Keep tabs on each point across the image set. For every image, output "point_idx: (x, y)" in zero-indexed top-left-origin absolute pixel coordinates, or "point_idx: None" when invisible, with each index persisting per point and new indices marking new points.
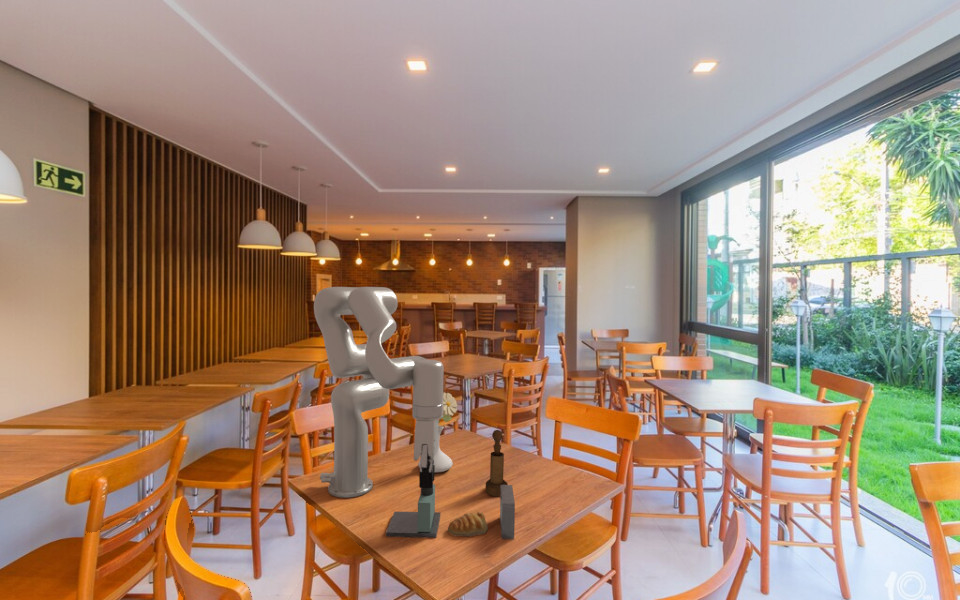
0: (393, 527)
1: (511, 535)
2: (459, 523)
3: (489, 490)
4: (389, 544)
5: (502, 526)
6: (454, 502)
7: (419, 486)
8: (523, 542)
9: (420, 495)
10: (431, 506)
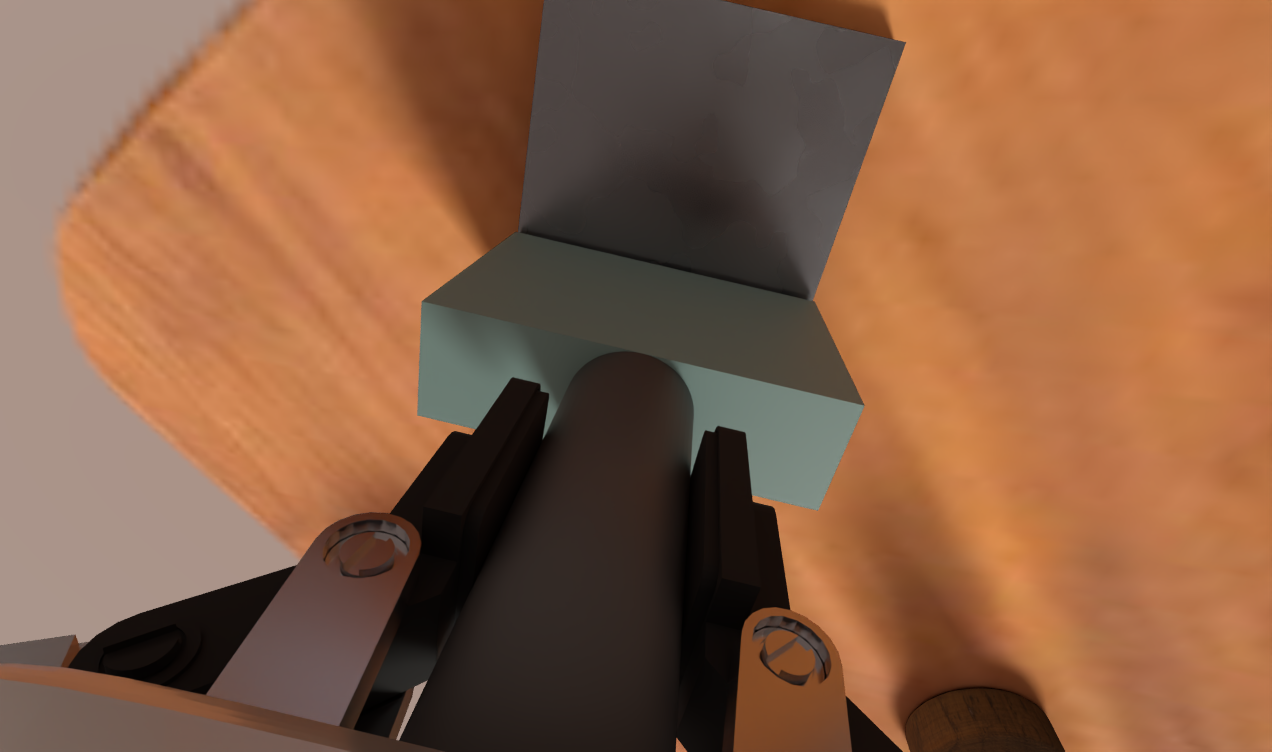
0: (619, 34)
1: None
2: None
3: (953, 718)
4: (449, 5)
5: None
6: (932, 510)
7: (512, 380)
8: None
9: (580, 343)
10: None
